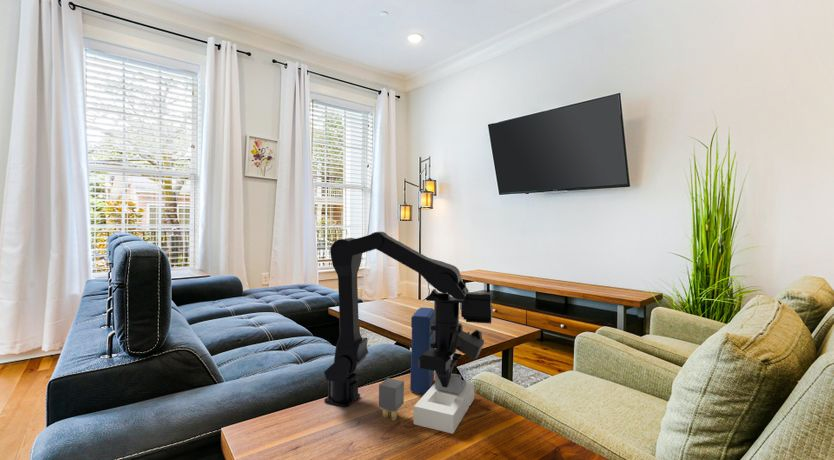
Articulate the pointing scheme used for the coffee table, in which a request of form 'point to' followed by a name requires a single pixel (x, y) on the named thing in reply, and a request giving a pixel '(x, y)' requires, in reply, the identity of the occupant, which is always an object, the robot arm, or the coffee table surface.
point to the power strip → (443, 408)
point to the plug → (391, 396)
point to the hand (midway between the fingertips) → (445, 386)
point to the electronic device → (421, 349)
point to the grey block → (451, 384)
